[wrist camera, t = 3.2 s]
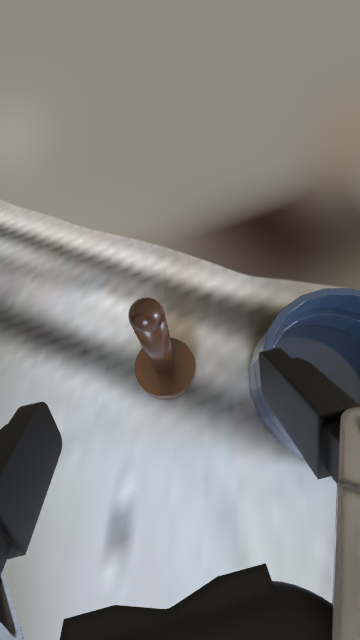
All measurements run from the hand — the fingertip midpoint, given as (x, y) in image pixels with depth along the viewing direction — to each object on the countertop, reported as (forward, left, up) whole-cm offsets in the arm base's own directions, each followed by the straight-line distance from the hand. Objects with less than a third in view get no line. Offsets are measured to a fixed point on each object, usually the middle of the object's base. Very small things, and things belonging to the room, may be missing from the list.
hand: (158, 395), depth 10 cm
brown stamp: (-1, +4, -14) cm, 15 cm away
